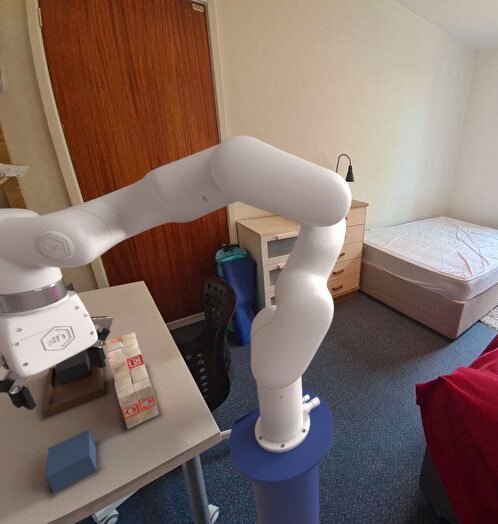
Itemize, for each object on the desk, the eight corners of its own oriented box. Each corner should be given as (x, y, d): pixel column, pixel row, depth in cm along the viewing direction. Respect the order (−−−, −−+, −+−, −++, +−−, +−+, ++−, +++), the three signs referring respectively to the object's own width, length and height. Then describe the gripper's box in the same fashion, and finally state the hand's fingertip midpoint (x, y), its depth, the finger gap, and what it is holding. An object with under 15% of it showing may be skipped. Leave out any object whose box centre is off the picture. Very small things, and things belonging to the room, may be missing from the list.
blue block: (95, 444, 60) (89, 429, 58) (96, 470, 55) (89, 455, 54) (56, 463, 56) (48, 447, 55) (54, 493, 52) (45, 477, 50)
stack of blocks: (160, 414, 67) (148, 374, 63) (127, 430, 63) (112, 389, 59) (144, 366, 82) (134, 330, 77) (117, 376, 78) (104, 339, 73)
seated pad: (90, 361, 82) (86, 348, 80) (91, 374, 77) (86, 362, 75) (62, 370, 78) (56, 357, 77) (61, 385, 73) (55, 372, 72)
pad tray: (101, 357, 84) (99, 351, 84) (105, 393, 72) (102, 387, 72) (51, 374, 78) (49, 368, 77) (46, 416, 66) (43, 410, 65)
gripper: (-50, 332, 32) (7, 436, 39) (112, 277, 48) (134, 358, 54) (-82, 317, 35) (-23, 418, 41) (83, 269, 50) (107, 347, 56)
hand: (66, 383), depth 47 cm, fingers open, 9 cm apart
